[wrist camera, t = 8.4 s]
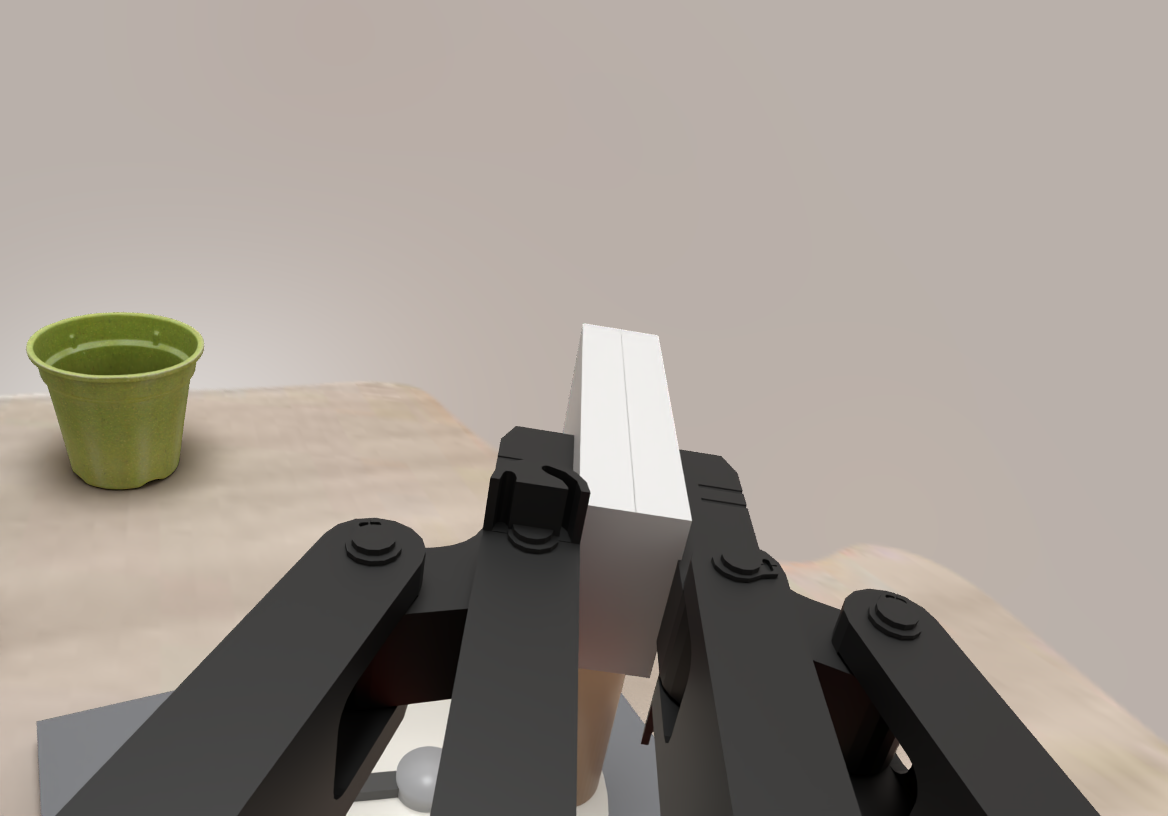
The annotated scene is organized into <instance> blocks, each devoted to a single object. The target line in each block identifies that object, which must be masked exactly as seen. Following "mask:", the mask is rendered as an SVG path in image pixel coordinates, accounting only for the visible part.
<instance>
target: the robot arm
mask: <svg viewBox="0 0 1168 816" xmlns="http://www.w3.org/2000/svg"><path fill="white" fill-rule="evenodd" d="M656 652H657V653H658V663H659V676H658V680H657V683H656V687H655V691H654V694H653V698H652V701H651V705H650V709H649V712H648V716H647V720H646V723H645V727H644V730H643V735H642V740H641V744H643V745H649V741H650V738H651V734H652V732H654V739H655V752H656V765H657V777H658V790H659V803H660V815H661V816H1100V814H1099V813H1098V812H1097V811H1096V810H1095V809H1094V807H1093V806H1092V805H1091V804H1090V803H1089V801H1088V800H1087V799H1086V798H1085V797H1084V795H1083V794H1082V793H1081V792H1080V791H1079V789H1078V788H1077V787H1076V786H1075V785H1074V783H1073V782H1072V781H1071V780H1070V779H1069V778H1068V776H1067V775H1066V774H1065V773H1064V772H1063V770H1062V769H1061V768H1060V767H1059V766H1058V764H1057V763H1056V762H1055V761H1054V760H1053V758H1052V757H1051V756H1050V755H1049V754H1048V752H1047V751H1046V750H1045V749H1044V748H1043V746H1042V745H1041V744H1040V743H1039V742H1038V741H1037V739H1036V738H1035V737H1034V736H1033V735H1032V733H1031V732H1030V731H1029V730H1028V729H1027V727H1026V726H1025V725H1024V724H1023V723H1022V721H1021V720H1020V719H1019V718H1018V717H1017V715H1016V714H1015V713H1014V712H1013V711H1012V710H1011V708H1010V707H1009V706H1008V705H1007V704H1006V702H1005V701H1004V700H1003V699H1002V698H1001V696H1000V695H999V694H998V693H997V692H996V690H995V689H994V688H993V687H992V686H991V684H990V683H989V682H988V681H987V680H986V678H985V677H984V676H983V675H982V674H981V673H980V671H979V670H978V669H977V668H976V667H975V665H974V664H973V663H972V662H971V661H970V659H969V658H968V657H967V656H966V655H965V653H964V652H963V651H962V650H961V649H960V647H959V646H958V645H957V644H956V643H955V642H954V640H953V639H952V638H951V637H950V636H949V634H948V633H947V632H946V631H945V630H944V628H943V627H942V626H941V625H940V624H939V622H938V621H937V620H936V619H935V618H934V617H933V616H931V615H930V614H929V613H928V612H927V611H926V610H925V609H924V608H923V607H921V606H919V605H917V604H916V603H914V602H912V601H911V600H909V599H908V598H906V597H903V596H901V595H898V594H895V593H892V592H888V591H883V590H874V589H865V590H859V591H854V592H853V593H851V594H850V595H849V596H848V597H846V598H845V601H844V603H843V606H842V609H841V610H840V609H837V608H834V607H831V606H828V605H825V604H823V603H820V602H817V601H814V600H811V599H809V598H807V597H804V596H802V595H800V594H797V593H796V592H794V591H792V590H791V589H790V587H789V583H788V580H787V577H786V574H785V572H784V571H783V569H782V568H781V566H780V564H779V563H778V562H777V561H776V560H775V559H773V558H772V557H771V556H770V555H769V554H767V553H766V552H764V551H762V550H760V549H759V547H758V543H757V540H756V536H755V533H754V529H753V526H752V522H751V519H750V515H749V512H748V509H747V508H746V502H745V498H744V495H743V494H742V488H741V484H740V481H739V477H738V474H737V472H736V471H735V470H734V469H733V468H732V467H731V466H730V465H729V464H728V463H727V462H726V461H725V460H724V459H723V458H722V456H717V455H711V454H705V453H698V452H692V451H686V450H679V447H678V442H677V436H676V430H675V425H674V419H673V414H672V408H671V403H670V397H669V392H668V386H667V381H666V376H665V370H664V365H663V359H662V354H661V348H660V343H659V337H658V335H651V334H646V333H640V332H634V331H628V330H622V329H616V328H610V327H603V326H598V325H592V324H585V323H583V326H582V331H581V337H580V342H579V348H578V353H577V358H576V364H575V369H574V374H573V380H572V385H571V391H570V396H569V402H568V407H567V412H566V418H565V423H564V428H563V433H557V432H550V431H544V430H538V429H532V428H525V427H518V426H516V427H514V428H513V429H512V430H511V431H510V432H509V433H507V434H506V435H505V436H504V437H503V438H501V442H500V447H499V453H498V459H497V463H496V469H495V471H494V473H493V474H492V476H491V478H490V484H489V491H488V498H487V504H486V511H485V518H484V525H483V528H482V529H481V530H480V531H479V532H478V533H477V535H475V536H474V537H472V538H470V539H468V540H467V541H465V542H461V543H458V544H455V545H451V546H444V547H435V548H425V546H424V542H423V539H422V538H421V537H420V536H419V535H418V534H417V533H416V532H415V531H414V530H413V529H411V528H409V527H407V526H405V525H403V524H400V523H398V522H396V521H391V520H385V519H379V518H365V519H354V520H351V521H347V522H344V523H341V524H338V525H336V526H335V527H333V528H332V529H330V530H329V531H327V532H326V533H325V534H324V535H323V536H322V537H321V538H320V539H319V540H318V541H317V542H316V543H315V544H314V545H313V546H312V547H311V548H310V549H309V550H308V551H307V553H306V554H305V555H304V556H303V557H302V558H301V559H300V560H299V561H298V562H297V563H296V564H295V565H294V566H293V567H292V568H291V569H290V570H289V571H288V572H287V573H286V575H285V576H284V577H283V578H282V579H281V580H280V581H279V582H278V583H277V584H276V585H275V586H274V587H273V588H272V589H271V590H270V591H269V592H268V593H267V594H266V595H265V596H264V598H263V599H262V600H261V601H260V602H259V603H258V604H257V605H256V606H255V607H254V608H253V609H252V610H251V611H250V612H249V613H248V614H247V615H246V616H245V617H244V618H243V620H242V621H241V622H240V623H239V624H238V625H237V626H236V627H235V628H234V629H233V630H232V631H231V632H230V633H229V634H228V635H227V636H226V637H225V638H224V639H223V640H222V642H221V643H220V644H219V645H218V646H217V647H216V648H215V649H214V650H213V651H212V652H211V653H210V654H209V655H208V656H207V657H206V658H205V659H204V660H203V661H202V662H201V663H200V665H199V666H198V667H197V668H196V669H195V670H194V671H193V672H192V673H191V674H190V675H189V676H188V677H187V678H186V679H185V680H184V681H183V682H182V683H181V684H180V685H179V687H178V688H177V689H176V690H175V691H174V692H173V693H172V694H171V695H170V696H169V697H168V698H167V699H166V700H165V701H164V702H163V703H162V704H161V705H160V706H159V707H158V708H157V710H156V711H155V712H154V713H153V714H152V715H151V716H150V717H149V718H148V719H147V720H146V721H145V722H144V723H143V724H142V725H141V726H140V727H139V728H138V729H137V730H136V732H135V733H134V734H133V735H132V736H131V737H130V738H129V739H128V740H127V741H126V742H125V743H124V744H123V745H122V746H121V747H120V748H119V749H118V750H117V751H116V752H115V753H114V755H113V756H112V757H111V758H110V759H109V760H108V761H107V762H106V763H105V764H104V765H103V766H102V767H101V768H100V769H99V770H98V771H97V772H96V773H95V774H94V775H93V777H92V778H91V779H90V780H89V781H88V782H87V783H86V784H85V785H84V786H83V787H82V788H81V789H80V790H79V791H78V792H77V793H76V794H75V795H74V796H73V797H72V798H71V800H70V801H69V802H68V803H67V804H66V805H65V806H64V807H63V808H62V809H61V810H60V811H59V812H58V813H57V814H56V815H55V816H346V814H347V813H348V811H349V809H350V808H351V806H352V804H353V803H354V801H355V799H356V797H357V796H358V794H359V792H360V791H361V789H362V787H363V786H364V784H365V782H366V781H367V779H368V777H369V776H370V774H371V772H372V771H373V769H374V767H375V766H376V764H377V762H378V761H379V759H380V757H381V755H382V754H383V752H384V750H385V749H386V747H387V745H388V744H389V742H390V740H391V739H392V737H393V735H394V734H395V732H396V730H397V729H398V727H399V725H400V724H401V722H402V720H403V719H404V716H405V713H406V709H407V706H408V704H416V703H424V702H432V701H440V700H448V699H451V704H450V709H449V715H448V720H447V726H446V731H445V736H444V742H443V747H442V753H441V758H440V763H439V769H438V774H437V780H436V785H435V791H434V796H433V801H432V807H431V812H430V816H576V806H577V730H578V668H582V669H589V670H596V671H603V672H610V673H618V674H625V675H632V676H639V677H646V678H650V675H651V671H652V667H653V663H654V660H655V656H656ZM899 744H900V745H901V746H902V748H903V749H904V751H905V752H906V754H907V755H908V757H909V759H910V761H911V763H912V766H911V768H910V769H909V770H908V769H907V768H906V767H905V766H904V765H903V763H902V762H901V760H900V759H899V757H898V756H897V754H896V750H897V748H898V746H899Z"/></svg>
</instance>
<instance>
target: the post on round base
mask: <svg viewBox="0 0 1168 816" xmlns="http://www.w3.org/2000/svg"><path fill="white" fill-rule="evenodd" d="M624 679H625V674H618V673H610V672H603V671H596V670H589V669H582V668H578V730H577V806H576V816H608V815H609V812H608V794H607V789H606V784H605V779H604V775H603V772H602V767H603V763H604V759H605V755H606V751H607V747H608V743H609V739H610V735H611V731H612V727H613V723H614V719H615V715H616V711H617V707H618V703H619V699H620V695H621V691H622V687H623V683H624ZM450 704H451V699H448V700H440V701H432V702H424V703H416V704H408V706H407V709H406V713H405V716H404V719H403V720H402V722H401V724H400V725H399V727H398V729H397V730H396V732H395V734H394V735H393V737H392V739H391V740H390V742H389V744H388V745H387V747H386V749H385V750H384V752H383V754H382V755H381V757H380V759H379V761H378V762H377V764H376V766H375V767H374V769H373V771H372V772H371V774H370V776H369V777H368V779H367V781H366V782H365V784H364V786H363V787H362V789H361V791H360V792H359V794H358V796H357V797H356V799H355V801H354V803H353V804H352V806H351V808H350V809H349V811H348V813H347V814H346V816H430V812H431V807H432V801H433V796H434V791H435V785H436V780H437V774H438V769H439V763H440V758H441V753H442V747H443V742H444V736H445V731H446V726H447V720H448V715H449V709H450Z"/></svg>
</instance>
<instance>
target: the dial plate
mask: <svg viewBox="0 0 1168 816" xmlns="http://www.w3.org/2000/svg"><path fill="white" fill-rule="evenodd" d="M173 692H174V691H170V692H166V693H161V694H157V695H153V696H148V697H144V698H139V699H135V700H130V701H126V702H122V703H117V704H113V705H108V706H104V707H99V708H95V709H90V710H86V711H82V712H77V713H73V714H68V715H64V716H59V717H55V718H50V719H46V720H42V721H37V740H38V761H39V781H40V802H41V816H55V815H56V814H57V813H58V812H59V811H60V810H61V809H62V808H63V807H64V806H65V805H66V804H67V803H68V802H69V801H70V800H71V798H72V797H73V796H74V795H75V794H76V793H77V792H78V791H79V790H80V789H81V788H82V787H83V786H84V785H85V784H86V783H87V782H88V781H89V780H90V779H91V778H92V777H93V775H94V774H95V773H96V772H97V771H98V770H99V769H100V768H101V767H102V766H103V765H104V764H105V763H106V762H107V761H108V760H109V759H110V758H111V757H112V756H113V755H114V753H115V752H116V751H117V750H118V749H119V748H120V747H121V746H122V745H123V744H124V743H125V742H126V741H127V740H128V739H129V738H130V737H131V736H132V735H133V734H134V733H135V732H136V730H137V729H138V728H139V727H140V726H141V725H142V724H143V723H144V722H145V721H146V720H147V719H148V718H149V717H150V716H151V715H152V714H153V713H154V712H155V711H156V710H157V708H158V707H159V706H160V705H161V704H162V703H163V702H164V701H165V700H166V699H167V698H168V697H169V696H170V695H171V694H172V693H173ZM644 727H645V724H644V723H643V722H642V720H641V719H640V717H639V716H638V715H637V713H636V712H635V711H634V709H633V708H632V707H631V705H630V704H629V703H628V701H627V700H626V699H625V697H624V696H623V695H622V693H621V695H620V699H619V703H618V707H617V711H616V715H615V719H614V723H613V727H612V731H611V735H610V739H609V743H608V747H607V751H606V755H605V759H604V763H603V767H602V772H603V775H604V779H605V784H606V789H607V794H608V812H609V815H608V816H661V815H660V803H659V790H658V777H657V765H656V752H655V739H654V736H653V735H652V734H651V738H650V741H649V745H643V744H641V740H642V735H643V730H644Z"/></svg>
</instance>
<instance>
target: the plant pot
mask: <svg viewBox="0 0 1168 816" xmlns="http://www.w3.org/2000/svg"><path fill="white" fill-rule="evenodd" d="M203 350H204V340H203V338H202V336H201V334H199V332H197V331H196V330H195V329H194V328H192V327H191V326H189V325H187V324H185V323H182V322H180V321H177V320H174V319H171V318H167V317H162V316H157V315H152V314H143V313H125V312H121V313H120V312H116V313H115V312H114V313H96V314H88V315H83V316H76V317H71V318H68V319H64V320H61V321H58V322H56V323H53V324H50V325H48V326H45V327H43V328H41V329H40V330H39V331H37V332H35V334H34V335H33V336H31V337H30V339H29V340H28V342H27V346H26V351H27V354H28V357H29V359H30V360H31V362H32V363H33V364H34V365H36V366H37V367H38V369H39V372H40V375H41V378H42V379H43V381H44V382H45V383H46V384H47V386H48V389H49V392H50V396H51V399H52V402H53V405H54V409H55V412H56V415H57V419H58V422H59V425H60V429H61V432H62V435H63V439H64V442H65V446H66V449H67V453H68V456H69V460H70V463H71V467H72V470H73V472H74V473H76V474H77V475H78V476H80V477H81V478H82V479H83V480H84V481H85V482H86V483H87V484H89V485H92V486H96V487H100V488H106V489H131V488H138V487H141V486H142V485H144V484H145V483H147V482H149V481H151V480H154V479H164V478H166V477H167V476H169V475H170V474H171V473H173V471H174V470H175V469H176V467H177V466H178V463H179V457H180V450H181V442H182V434H183V426H184V419H185V411H186V404H187V397H188V390H189V384H190V379H191V377H192V376H193V374H194V372H195V367H196V361H198V359H199V358H200V357H201V355H202V353H203Z"/></svg>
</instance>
